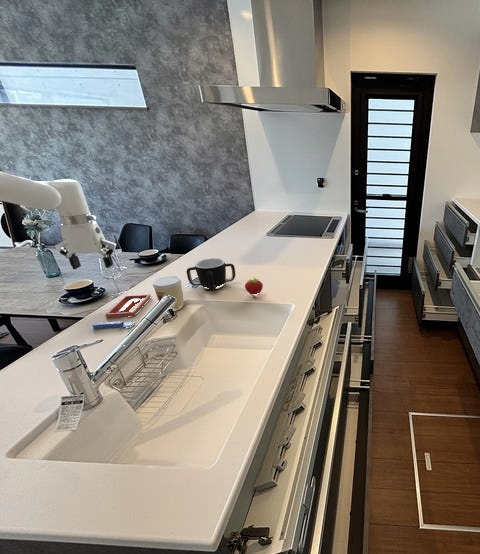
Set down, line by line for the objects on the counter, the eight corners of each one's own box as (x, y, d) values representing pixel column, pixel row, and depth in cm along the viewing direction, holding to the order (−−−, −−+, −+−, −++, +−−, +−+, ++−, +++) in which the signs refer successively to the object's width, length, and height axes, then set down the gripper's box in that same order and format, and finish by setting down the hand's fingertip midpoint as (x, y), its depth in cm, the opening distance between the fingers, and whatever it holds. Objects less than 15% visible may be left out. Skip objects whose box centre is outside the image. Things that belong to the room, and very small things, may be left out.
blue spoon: (91, 331, 106) (90, 327, 105) (97, 325, 109) (96, 321, 108) (131, 328, 109) (130, 324, 108) (136, 323, 112) (135, 318, 111)
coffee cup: (157, 306, 123) (150, 279, 118) (183, 300, 129) (177, 274, 124) (162, 316, 117) (154, 288, 112) (189, 308, 123) (183, 282, 118)
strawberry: (247, 294, 137) (244, 273, 133) (265, 293, 138) (262, 273, 134) (244, 300, 131) (242, 279, 127) (263, 299, 133) (260, 278, 129)
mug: (218, 276, 152) (214, 254, 147) (240, 284, 145) (237, 261, 140) (186, 288, 139) (181, 264, 134) (209, 297, 132) (204, 272, 127)
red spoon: (127, 314, 116) (126, 310, 115) (116, 315, 115) (115, 311, 114) (141, 299, 127) (140, 295, 126) (131, 300, 126) (130, 296, 125)
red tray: (106, 319, 113) (105, 314, 113) (126, 300, 127) (125, 295, 126) (134, 317, 116) (133, 312, 115) (151, 298, 129) (150, 294, 128)
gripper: (113, 216, 105) (127, 262, 112) (53, 216, 101) (71, 264, 108) (101, 221, 98) (116, 270, 105) (36, 222, 95) (56, 272, 102)
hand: (93, 267), depth 107 cm, fingers open, 9 cm apart
